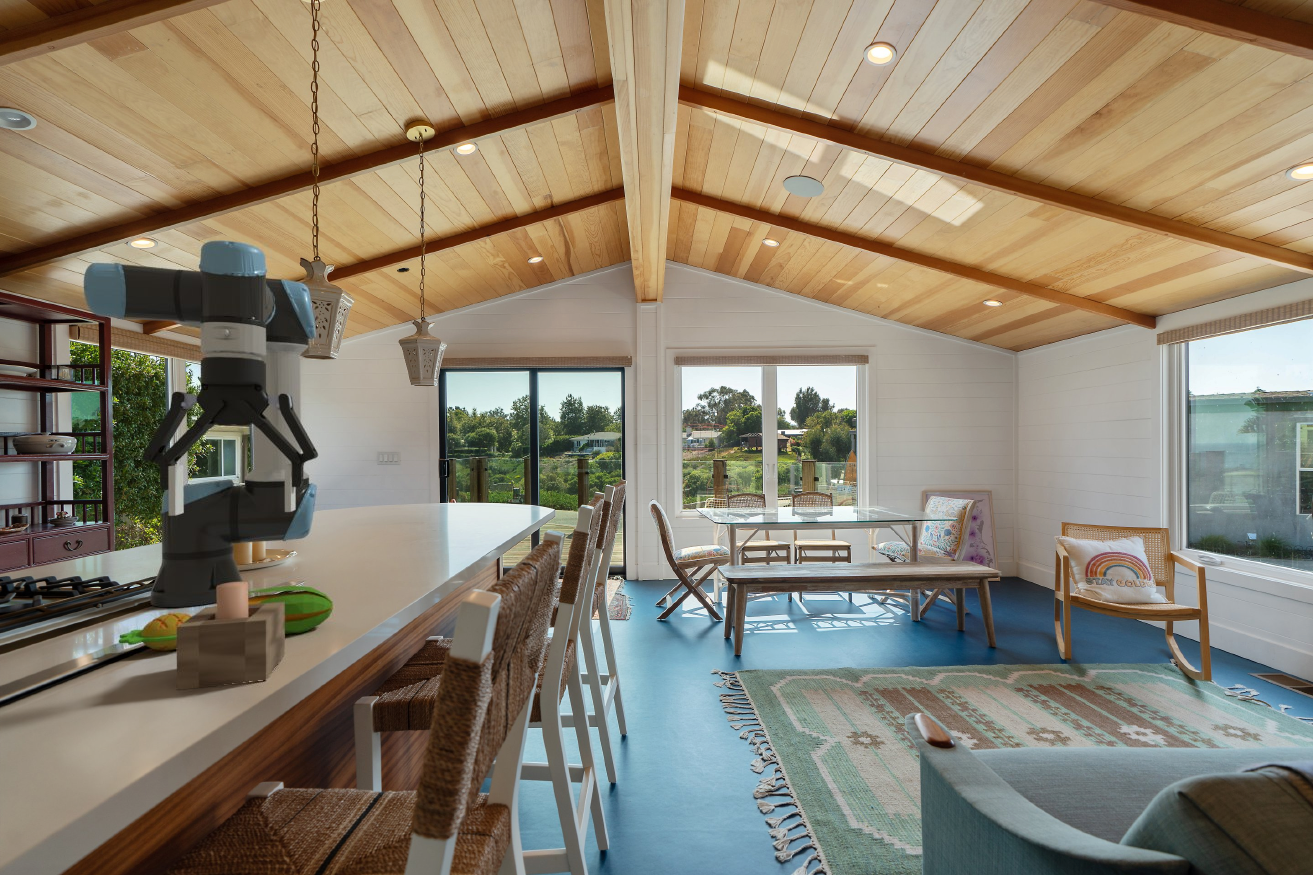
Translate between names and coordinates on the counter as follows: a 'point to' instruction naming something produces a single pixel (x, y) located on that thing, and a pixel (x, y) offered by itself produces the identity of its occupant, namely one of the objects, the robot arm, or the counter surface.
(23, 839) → the counter surface
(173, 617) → the toy pineapple
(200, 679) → the socket block
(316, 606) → the corn
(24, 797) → the counter surface
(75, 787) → the counter surface
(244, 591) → the peg
